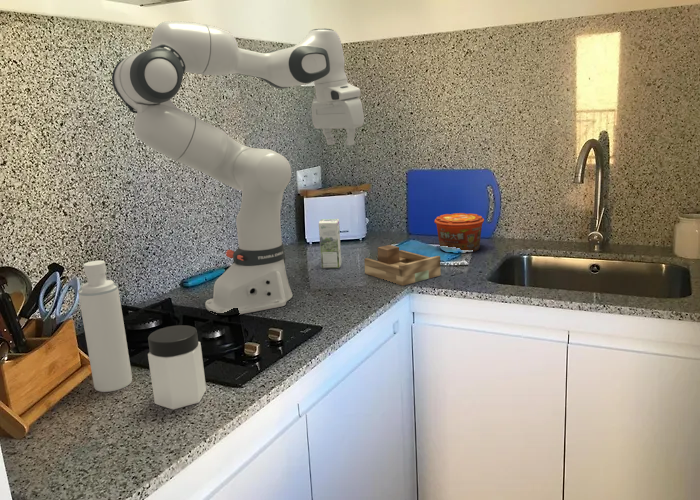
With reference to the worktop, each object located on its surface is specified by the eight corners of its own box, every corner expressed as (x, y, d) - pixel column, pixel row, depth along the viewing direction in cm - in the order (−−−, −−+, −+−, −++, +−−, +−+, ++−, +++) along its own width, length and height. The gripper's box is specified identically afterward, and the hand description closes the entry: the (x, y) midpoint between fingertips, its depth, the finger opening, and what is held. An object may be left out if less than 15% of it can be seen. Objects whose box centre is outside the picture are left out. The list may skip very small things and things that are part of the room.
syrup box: (341, 263, 188) (339, 218, 184) (339, 268, 182) (337, 221, 179) (323, 264, 188) (320, 218, 185) (321, 269, 183) (318, 222, 179)
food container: (464, 257, 187) (464, 223, 184) (425, 250, 198) (424, 218, 196) (494, 247, 197) (494, 215, 195) (455, 241, 209) (454, 210, 206)
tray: (402, 285, 162) (401, 266, 160) (365, 273, 175) (364, 255, 174) (440, 275, 169) (440, 256, 168) (402, 264, 183) (401, 246, 182)
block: (387, 265, 174) (387, 250, 172) (378, 262, 177) (377, 247, 176) (399, 262, 176) (399, 247, 175) (390, 259, 180) (389, 244, 179)
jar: (200, 382, 111) (192, 321, 108) (212, 399, 104) (204, 334, 101) (150, 395, 107) (141, 331, 104) (159, 414, 100) (150, 347, 97)
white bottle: (135, 374, 116) (116, 248, 110) (128, 389, 109) (107, 257, 103) (99, 378, 115) (78, 251, 109) (90, 394, 109) (67, 260, 103)
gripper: (302, 96, 166) (311, 146, 170) (344, 92, 150) (352, 147, 154) (321, 93, 170) (329, 141, 174) (364, 88, 153) (371, 143, 157)
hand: (340, 144), depth 164 cm, fingers open, 8 cm apart
